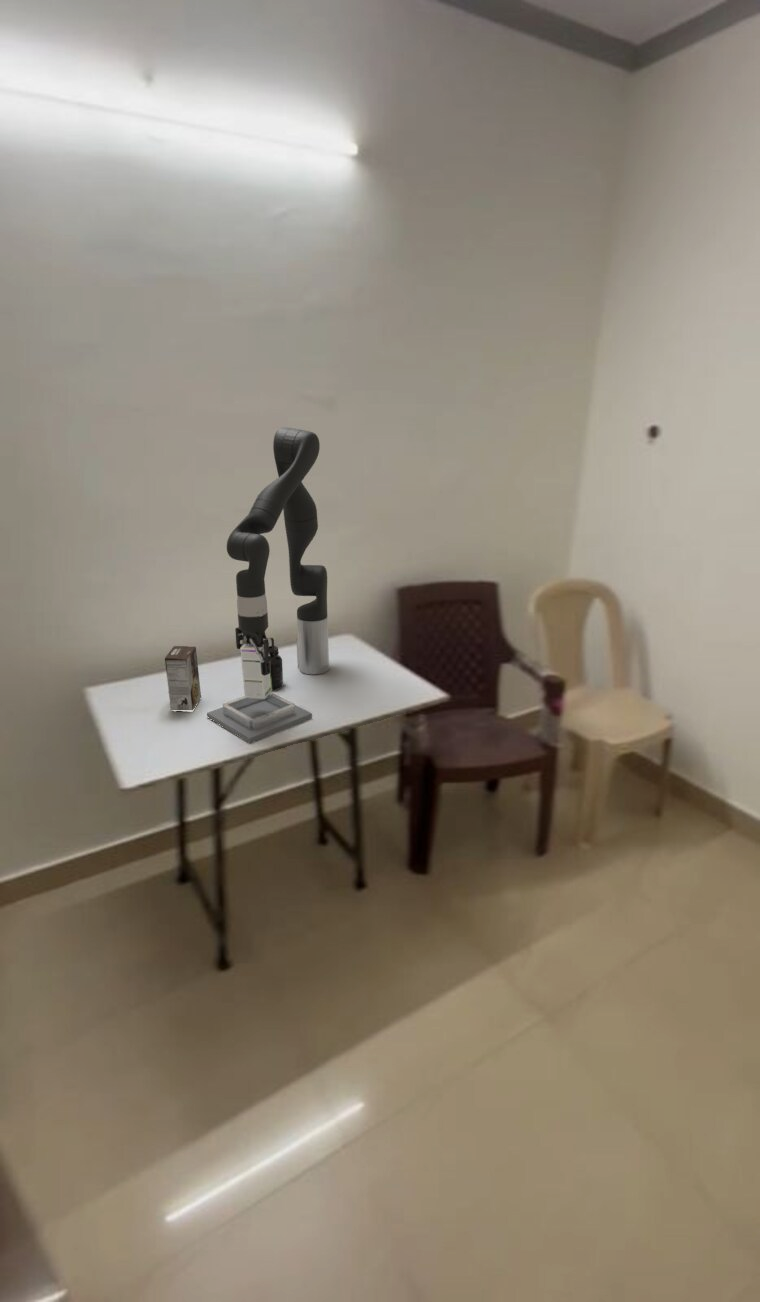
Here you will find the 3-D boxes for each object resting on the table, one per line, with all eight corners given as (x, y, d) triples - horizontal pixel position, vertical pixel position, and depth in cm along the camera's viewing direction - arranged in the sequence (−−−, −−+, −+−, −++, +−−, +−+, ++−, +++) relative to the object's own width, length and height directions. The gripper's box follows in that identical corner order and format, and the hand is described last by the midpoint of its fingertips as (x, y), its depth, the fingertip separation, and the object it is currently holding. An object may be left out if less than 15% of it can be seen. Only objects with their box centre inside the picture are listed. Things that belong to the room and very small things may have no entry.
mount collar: (221, 712, 195) (220, 704, 195) (265, 696, 205) (265, 688, 204) (252, 730, 186) (251, 722, 185) (297, 713, 195) (296, 704, 194)
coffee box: (179, 698, 208) (173, 645, 202) (202, 698, 208) (196, 645, 202) (170, 712, 199) (163, 657, 193) (193, 712, 199) (187, 657, 193)
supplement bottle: (256, 688, 214) (253, 650, 209) (267, 679, 220) (264, 642, 215) (276, 692, 211) (274, 653, 207) (287, 683, 217) (285, 645, 213)
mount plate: (207, 717, 196) (206, 712, 196) (268, 695, 209) (267, 691, 208) (250, 743, 183) (249, 738, 182) (312, 718, 196) (311, 713, 195)
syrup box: (265, 699, 190) (261, 648, 185) (243, 698, 191) (239, 646, 186) (272, 690, 195) (269, 640, 190) (251, 689, 196) (248, 638, 191)
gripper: (224, 607, 187) (229, 666, 193) (256, 620, 178) (260, 682, 184) (248, 601, 192) (252, 659, 198) (281, 613, 182) (284, 673, 188)
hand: (256, 670), depth 191 cm, fingers closed on syrup box, 7 cm apart
